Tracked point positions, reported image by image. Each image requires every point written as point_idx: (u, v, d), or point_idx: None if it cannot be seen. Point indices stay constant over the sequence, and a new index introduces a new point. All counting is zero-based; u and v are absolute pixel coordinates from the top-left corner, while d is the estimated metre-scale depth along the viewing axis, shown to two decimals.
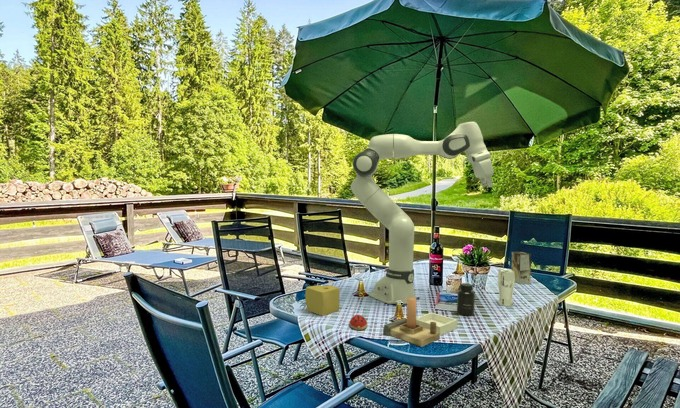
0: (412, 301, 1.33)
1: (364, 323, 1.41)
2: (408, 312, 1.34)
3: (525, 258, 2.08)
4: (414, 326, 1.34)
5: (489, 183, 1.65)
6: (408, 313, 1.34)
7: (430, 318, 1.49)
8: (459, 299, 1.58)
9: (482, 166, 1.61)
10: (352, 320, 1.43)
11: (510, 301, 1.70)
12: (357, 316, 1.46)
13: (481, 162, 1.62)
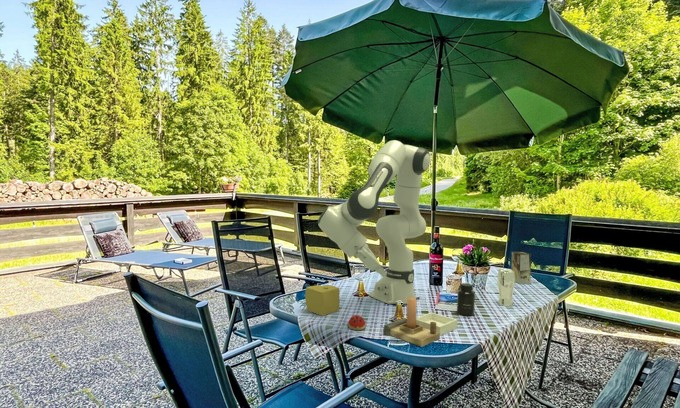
0: (412, 301, 1.33)
1: (363, 323, 1.41)
2: (408, 312, 1.34)
3: (525, 258, 2.08)
4: (414, 326, 1.34)
5: None
6: (408, 313, 1.34)
7: (430, 318, 1.49)
8: (459, 299, 1.58)
9: None
10: (351, 320, 1.42)
11: (510, 301, 1.70)
12: (355, 316, 1.45)
13: None
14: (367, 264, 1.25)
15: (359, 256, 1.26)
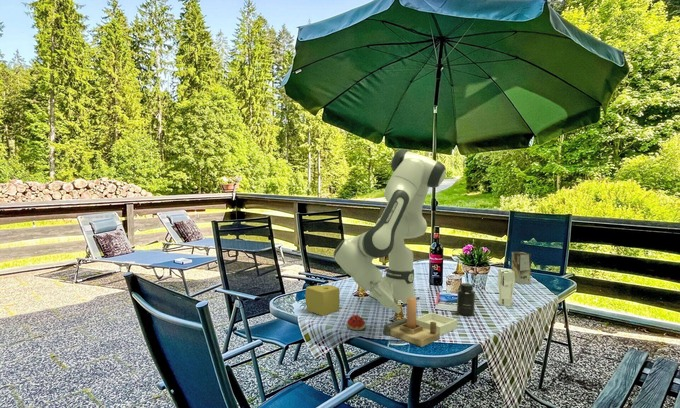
0: (412, 301, 1.33)
1: (362, 323, 1.41)
2: (408, 312, 1.34)
3: (525, 258, 2.08)
4: (414, 326, 1.34)
5: None
6: (408, 313, 1.34)
7: (430, 318, 1.49)
8: (459, 299, 1.58)
9: None
10: (350, 320, 1.42)
11: (510, 301, 1.70)
12: (354, 316, 1.45)
13: None
14: (382, 302, 1.25)
15: (374, 294, 1.26)
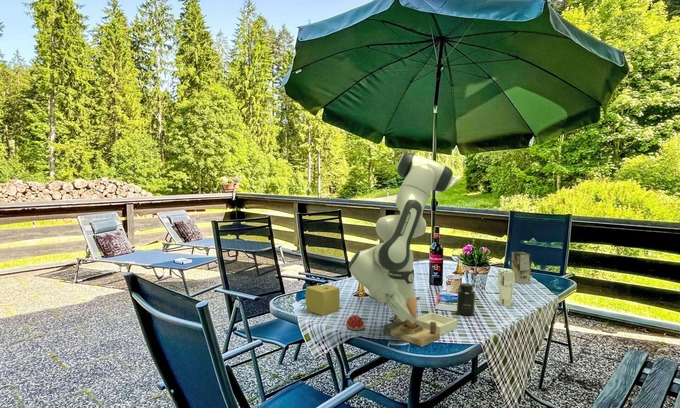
0: (412, 301, 1.33)
1: (361, 323, 1.41)
2: None
3: (525, 258, 2.08)
4: (414, 326, 1.34)
5: None
6: None
7: (430, 318, 1.49)
8: (459, 299, 1.58)
9: None
10: (349, 321, 1.42)
11: (510, 301, 1.70)
12: (353, 316, 1.45)
13: None
14: (398, 315, 1.25)
15: (390, 306, 1.26)
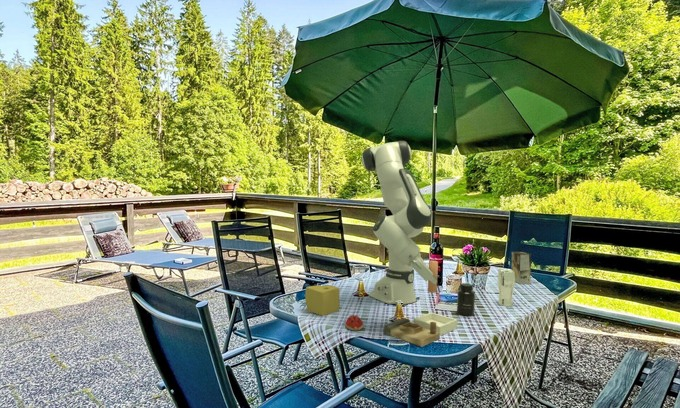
0: (434, 263, 1.40)
1: (360, 323, 1.41)
2: None
3: (525, 258, 2.08)
4: (435, 287, 1.40)
5: None
6: None
7: (430, 318, 1.49)
8: (459, 299, 1.58)
9: None
10: (348, 321, 1.42)
11: (510, 301, 1.70)
12: (352, 316, 1.45)
13: None
14: (422, 274, 1.32)
15: (414, 266, 1.32)
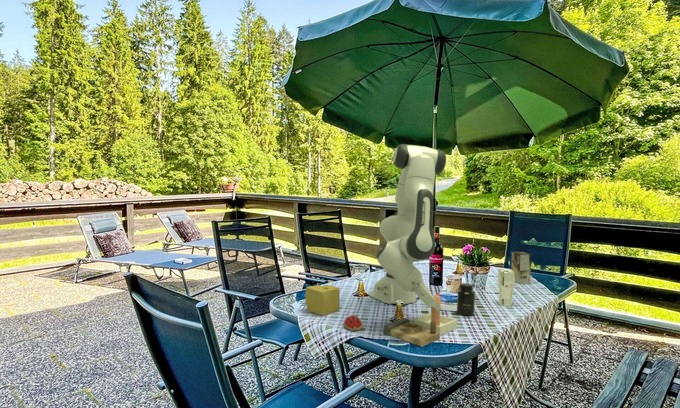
0: (437, 299, 1.41)
1: (360, 324, 1.41)
2: (432, 309, 1.42)
3: (525, 258, 2.08)
4: (438, 322, 1.42)
5: None
6: (432, 310, 1.42)
7: (430, 318, 1.49)
8: (459, 299, 1.58)
9: None
10: (347, 321, 1.42)
11: (510, 301, 1.70)
12: (351, 316, 1.45)
13: None
14: (425, 301, 1.33)
15: (417, 293, 1.34)
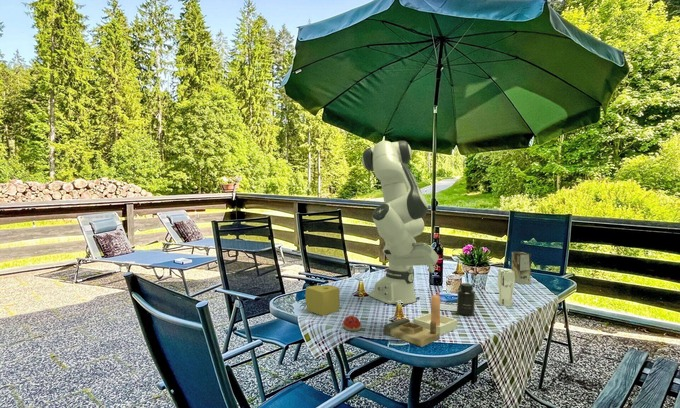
0: (436, 299, 1.41)
1: (359, 324, 1.41)
2: (432, 309, 1.42)
3: (525, 258, 2.08)
4: (438, 322, 1.42)
5: None
6: (432, 310, 1.42)
7: (430, 318, 1.49)
8: (459, 299, 1.58)
9: None
10: (346, 321, 1.41)
11: (510, 301, 1.70)
12: (350, 316, 1.44)
13: None
14: (433, 258, 1.33)
15: (426, 250, 1.32)
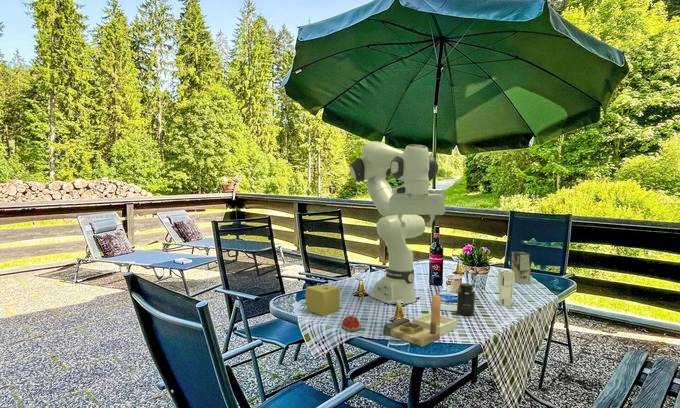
0: (437, 298, 1.41)
1: (358, 324, 1.40)
2: (433, 309, 1.42)
3: (525, 258, 2.08)
4: (438, 322, 1.42)
5: (400, 222, 1.41)
6: (433, 310, 1.42)
7: (430, 318, 1.49)
8: (459, 299, 1.58)
9: (389, 201, 1.43)
10: (345, 321, 1.41)
11: (510, 301, 1.70)
12: (349, 317, 1.44)
13: (390, 196, 1.42)
14: None
15: (442, 197, 1.39)
